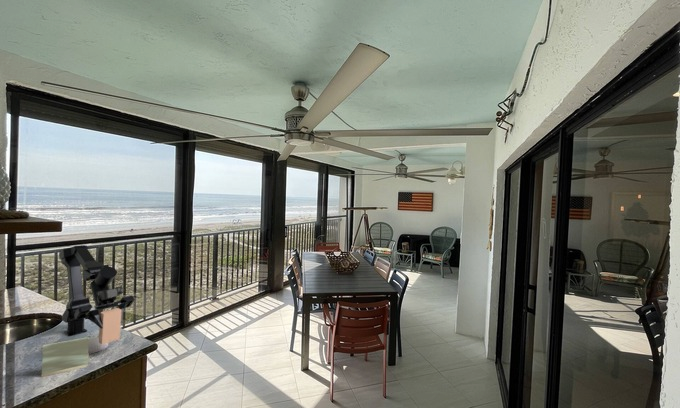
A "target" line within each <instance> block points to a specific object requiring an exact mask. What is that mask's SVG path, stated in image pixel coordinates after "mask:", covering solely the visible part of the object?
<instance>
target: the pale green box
mask: <svg viewBox="0 0 680 408" xmlns="http://www.w3.org/2000/svg"><path fill="white" fill-rule="evenodd" d="M89 337H90V336H87V337H79V338H75V339H69V340H65V341H64V340H63V341H58V342H52V343H47V344H43V345H42V358H41V359H42V360H41V361H42V363H41V378H44V377H48V376H54V375H58V374H62V373H66V372H70V371H75V370H79V369H83V368H88V363H89V357H90V354H89V353H88V343H89V339H90V338H89Z"/></svg>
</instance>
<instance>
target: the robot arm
mask: <svg viewBox="0 0 680 408" xmlns="http://www.w3.org/2000/svg"><path fill="white" fill-rule="evenodd" d="M58 257H59V259H60V262H61V264H62V265H63V266H64V267H65V268H66V272H67V281H68V291H69V300H68V302H67V304H66V306H65V309H64V312H63V313H62V316H61V321H62V322H64V323H65V324H67V328H66V329H67V330H64V331H63V334H65V335H66V336H68V337H72V336H76V335H79V334H83V333H87V332H88V329H86V328H85V320H89V321H90V322H92V323H93V324H95V325H96V326H97V327H98V328H101V329H102V328H103V324H102V321H101V319H100V313H99V311H102V310H106V309H113V308H115V309H116V308H119V309H121V324H122V323H123V318H124V317H123V316H124V310H125V309H127V308H130V307H131V306H132V305H133V303H134V302H135V300H136V299H135V297H134V296H133V295H131V294H130V295H126V296H122V297H121V298H120V300H118V301H116V300H117V297H119V296H120V295H122V294H124V289H123V286H122V285H121V286H116V287H115V288H110V286H109V285H110V284H111V283H112V282H113V281H114V279H115V278H116V276H117V275H118V270H117V269H116V268H114V267H112V266H110V265H109V264H104V263H103V262H100V261H96V259H95V258H94V256H93V255H92V253H91V252H90V250H89V247H88V245H84V244H82V245H81V244H80V245H74V246H71V247H67V248H63V249H62V250H60V251H59V253H58ZM81 267H82V268H83V269H81ZM83 279H84V280H85V281H86V282H87V281H91V282H90V283H89V290H91V292H92V296H93V298H92V301H93V302H94V303H95V304H94V305H92V304H91V301H90V298H89V297H86V296H85V295H84V286H83Z"/></svg>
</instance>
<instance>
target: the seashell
mask: <svg viewBox="0 0 680 408" xmlns="http://www.w3.org/2000/svg"><path fill="white" fill-rule="evenodd" d="M109 344H110V342H109V343H106V344H103V345H102V344H100V343H99V335H98V336H96V335H95V336H91V337H90V338H89V343H88V353H89V355H91V354H94V353H96V352H102V351H103V350H106V348H108V346H109Z"/></svg>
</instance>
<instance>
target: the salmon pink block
mask: <svg viewBox="0 0 680 408" xmlns="http://www.w3.org/2000/svg"><path fill="white" fill-rule="evenodd" d="M99 316H100V319H101V321H102V324H103V328H102V329H101V328H100V327H98V328H99V329H98V331H99V332H98V333H99V334H98V337H99V343H100V344H102V345H103V344H106V343H109V344H110V343H112V342H116V341H117V340H118V341H119V340H120V339H121V327H122V326H121V325H122V323H121V309H119V308H116V307H115V308H111V309H108V310H105V311H101V312H100V313H99Z"/></svg>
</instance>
